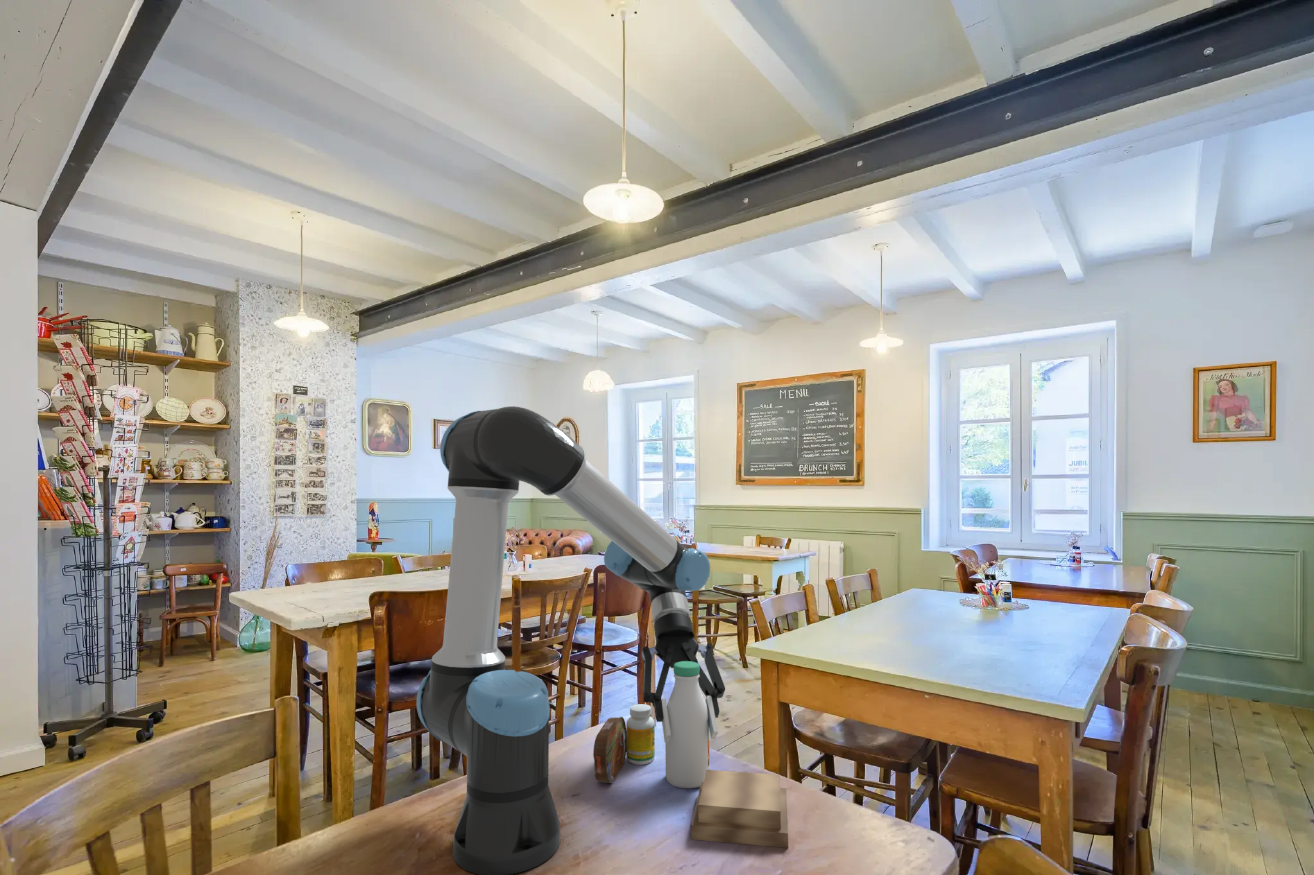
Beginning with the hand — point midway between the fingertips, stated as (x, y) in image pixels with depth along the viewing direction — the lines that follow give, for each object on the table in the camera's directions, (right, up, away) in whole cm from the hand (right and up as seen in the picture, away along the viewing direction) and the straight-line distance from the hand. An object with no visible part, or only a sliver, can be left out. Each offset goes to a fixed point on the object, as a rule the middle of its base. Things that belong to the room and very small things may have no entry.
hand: (691, 737), depth 113 cm
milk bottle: (-1, -9, +3) cm, 9 cm away
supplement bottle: (-9, -10, +11) cm, 17 cm away
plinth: (+7, -8, -11) cm, 15 cm away
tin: (-14, -9, +6) cm, 18 cm away
